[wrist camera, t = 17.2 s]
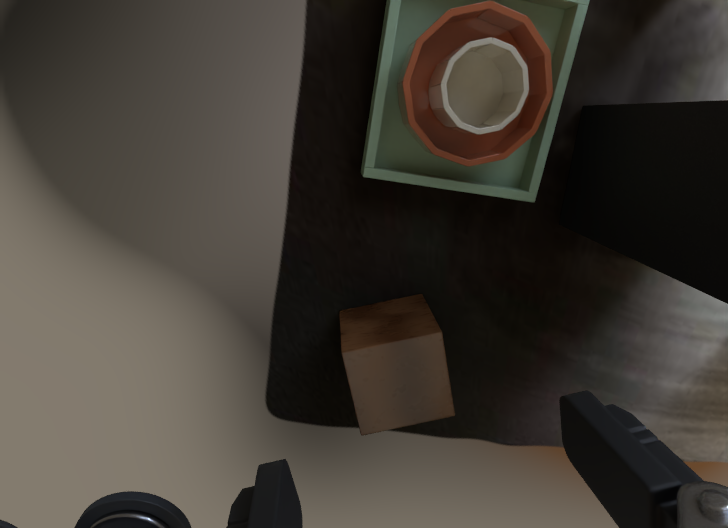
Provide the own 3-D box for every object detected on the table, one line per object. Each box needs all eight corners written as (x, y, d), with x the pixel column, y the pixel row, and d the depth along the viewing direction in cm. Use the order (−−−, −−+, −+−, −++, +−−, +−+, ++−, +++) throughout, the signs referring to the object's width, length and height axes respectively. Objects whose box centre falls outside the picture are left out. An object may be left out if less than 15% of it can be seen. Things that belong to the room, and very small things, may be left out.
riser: (355, 382, 45) (361, 436, 37) (338, 310, 42) (341, 352, 35) (433, 365, 45) (455, 416, 38) (421, 293, 43) (442, 331, 35)
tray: (521, 196, 40) (534, 202, 38) (360, 172, 39) (362, 176, 36) (572, 2, 36) (591, -7, 33) (391, -35, 34) (397, -48, 31)
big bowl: (409, 172, 38) (417, 177, 35) (386, 29, 35) (392, 20, 31) (536, 145, 38) (556, 148, 35) (526, 1, 35) (547, -12, 31)
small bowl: (434, 138, 37) (447, 141, 33) (422, 56, 35) (435, 48, 31) (508, 123, 37) (531, 123, 33) (501, 40, 35) (524, 30, 31)
